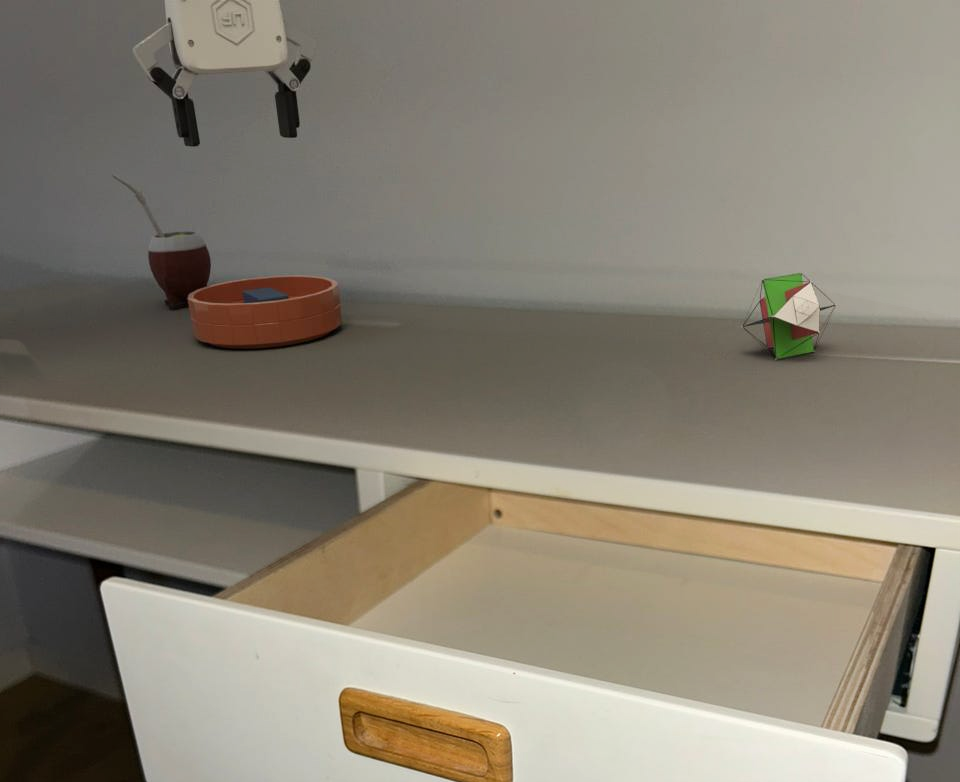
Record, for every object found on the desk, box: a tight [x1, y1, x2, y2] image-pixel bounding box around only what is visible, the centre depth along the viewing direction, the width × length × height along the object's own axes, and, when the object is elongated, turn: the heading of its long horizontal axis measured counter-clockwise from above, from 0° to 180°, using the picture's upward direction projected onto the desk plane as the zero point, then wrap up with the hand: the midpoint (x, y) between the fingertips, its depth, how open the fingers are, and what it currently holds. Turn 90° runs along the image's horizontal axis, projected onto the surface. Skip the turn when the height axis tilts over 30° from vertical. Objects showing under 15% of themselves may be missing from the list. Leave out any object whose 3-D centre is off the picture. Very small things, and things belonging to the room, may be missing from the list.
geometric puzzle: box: [740, 271, 838, 361], centre depth 91 cm, size 7×7×8 cm
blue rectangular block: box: [242, 287, 289, 303], centre depth 111 cm, size 3×6×4 cm, turn 29°
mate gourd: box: [111, 173, 212, 311], centre depth 125 cm, size 8×8×15 cm
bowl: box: [187, 275, 343, 350], centre depth 111 cm, size 15×15×4 cm
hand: (241, 141), depth 103 cm, fingers open, 9 cm apart
